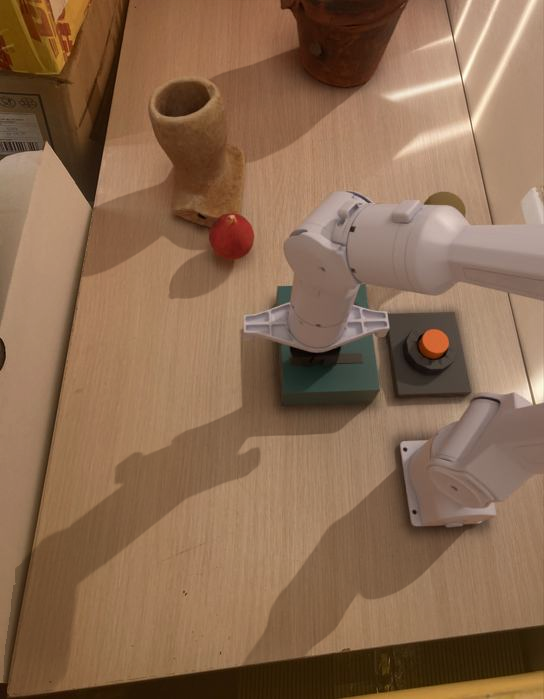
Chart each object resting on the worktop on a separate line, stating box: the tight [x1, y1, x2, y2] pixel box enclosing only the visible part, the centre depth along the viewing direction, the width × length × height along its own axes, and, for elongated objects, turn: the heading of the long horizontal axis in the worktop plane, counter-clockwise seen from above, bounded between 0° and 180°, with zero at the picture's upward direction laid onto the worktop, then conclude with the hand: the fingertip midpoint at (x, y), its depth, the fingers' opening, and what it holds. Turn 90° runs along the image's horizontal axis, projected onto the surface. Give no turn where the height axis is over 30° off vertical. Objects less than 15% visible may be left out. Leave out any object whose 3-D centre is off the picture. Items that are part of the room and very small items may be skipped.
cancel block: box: [386, 311, 472, 399], centre depth 67 cm, size 11×9×3 cm
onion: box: [208, 213, 255, 261], centre depth 70 cm, size 6×6×8 cm
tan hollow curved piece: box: [147, 75, 246, 228], centre depth 71 cm, size 15×12×15 cm
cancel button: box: [418, 329, 449, 359], centre depth 65 cm, size 3×3×2 cm
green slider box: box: [275, 283, 381, 407], centre depth 66 cm, size 14×11×5 cm
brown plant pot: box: [279, 0, 409, 88], centre depth 81 cm, size 18×20×18 cm
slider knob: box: [321, 353, 340, 366], centre depth 60 cm, size 2×2×4 cm
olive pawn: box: [423, 191, 467, 219], centre depth 69 cm, size 6×6×11 cm
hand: (307, 358), depth 62 cm, fingers closed
